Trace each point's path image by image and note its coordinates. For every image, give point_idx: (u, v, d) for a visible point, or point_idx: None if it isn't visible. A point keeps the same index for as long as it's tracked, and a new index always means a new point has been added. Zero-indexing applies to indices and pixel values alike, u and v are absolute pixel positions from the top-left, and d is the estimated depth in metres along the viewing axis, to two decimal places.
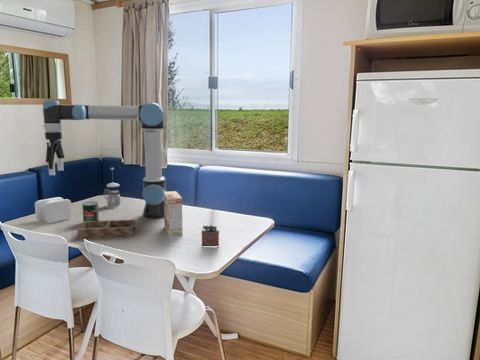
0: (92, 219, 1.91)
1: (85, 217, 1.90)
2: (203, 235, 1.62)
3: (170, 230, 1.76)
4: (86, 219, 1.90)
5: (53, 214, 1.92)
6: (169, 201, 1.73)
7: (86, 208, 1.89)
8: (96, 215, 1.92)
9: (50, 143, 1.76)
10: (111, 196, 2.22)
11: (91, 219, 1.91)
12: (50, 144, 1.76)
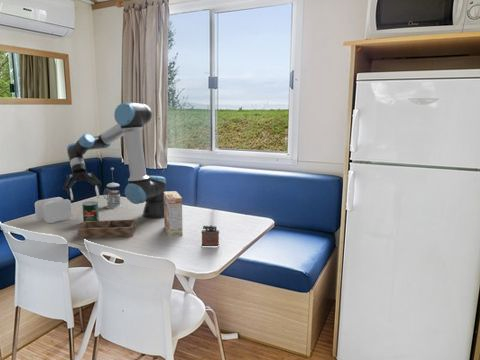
0: (92, 219, 1.91)
1: (85, 217, 1.90)
2: (203, 235, 1.62)
3: (170, 230, 1.76)
4: (86, 219, 1.90)
5: (53, 214, 1.92)
6: (169, 201, 1.73)
7: (86, 208, 1.89)
8: (96, 215, 1.92)
9: (67, 175, 2.01)
10: (111, 196, 2.22)
11: (91, 219, 1.91)
12: (67, 175, 2.01)
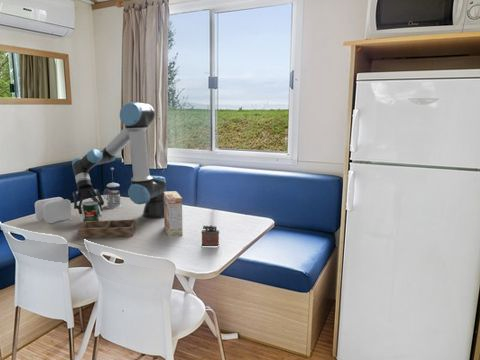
0: (92, 219, 1.91)
1: (85, 217, 1.90)
2: (203, 235, 1.62)
3: (170, 230, 1.76)
4: (86, 219, 1.90)
5: (53, 214, 1.92)
6: (169, 201, 1.73)
7: (86, 208, 1.89)
8: (96, 215, 1.92)
9: (73, 193, 1.94)
10: (111, 196, 2.22)
11: (91, 219, 1.91)
12: (73, 194, 1.94)
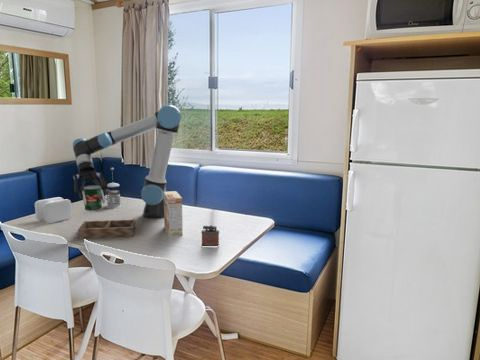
0: (94, 204, 1.72)
1: (87, 202, 1.72)
2: (203, 235, 1.62)
3: (170, 230, 1.76)
4: (88, 204, 1.72)
5: (53, 214, 1.92)
6: (169, 201, 1.73)
7: (88, 192, 1.71)
8: (99, 200, 1.74)
9: (73, 176, 1.76)
10: (111, 196, 2.22)
11: (93, 204, 1.72)
12: (73, 177, 1.76)
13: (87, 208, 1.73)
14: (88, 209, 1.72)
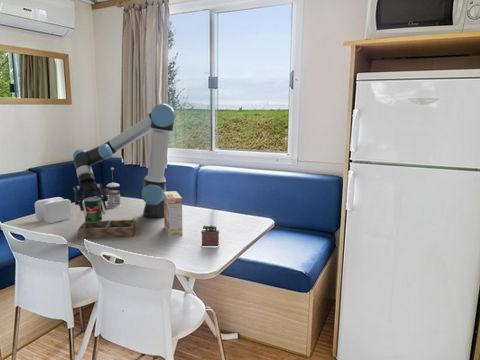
0: (95, 216, 1.73)
1: (87, 214, 1.73)
2: (203, 235, 1.62)
3: (170, 230, 1.76)
4: (88, 216, 1.73)
5: (53, 214, 1.92)
6: (169, 201, 1.73)
7: (88, 204, 1.71)
8: (99, 212, 1.75)
9: (74, 187, 1.76)
10: (111, 196, 2.22)
11: (94, 216, 1.73)
12: (74, 188, 1.76)
13: (87, 220, 1.73)
14: (88, 221, 1.73)
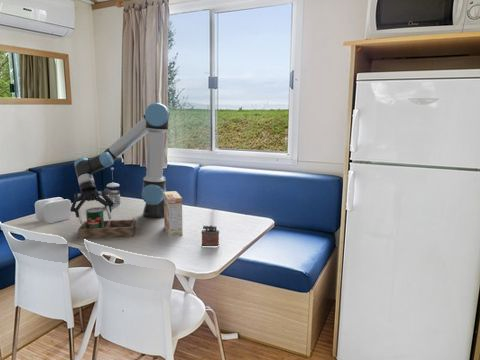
0: (97, 227, 1.74)
1: (89, 225, 1.74)
2: (203, 235, 1.62)
3: (170, 230, 1.76)
4: (90, 227, 1.74)
5: (53, 214, 1.92)
6: (169, 201, 1.73)
7: (90, 215, 1.73)
8: (101, 223, 1.76)
9: (75, 194, 1.78)
10: (111, 196, 2.22)
11: (96, 227, 1.74)
12: (75, 195, 1.77)
13: None
14: None
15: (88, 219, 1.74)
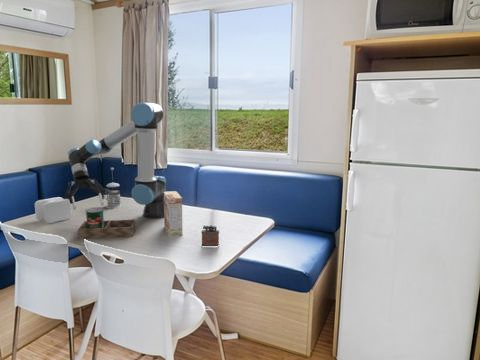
0: (97, 227, 1.74)
1: (89, 225, 1.74)
2: (203, 235, 1.62)
3: (170, 230, 1.76)
4: (90, 227, 1.74)
5: (53, 214, 1.92)
6: (169, 201, 1.73)
7: (90, 215, 1.73)
8: (101, 223, 1.76)
9: (69, 182, 1.88)
10: (111, 196, 2.22)
11: (96, 227, 1.74)
12: None
13: None
14: None
15: (88, 219, 1.74)
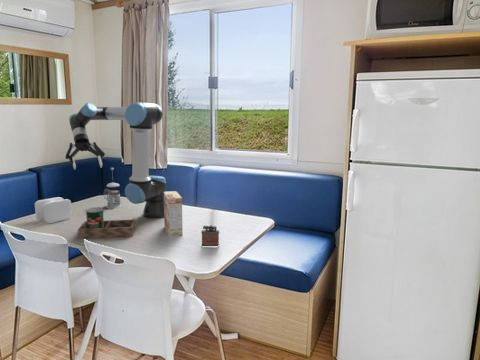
0: (97, 227, 1.74)
1: (89, 225, 1.74)
2: (203, 235, 1.62)
3: (170, 230, 1.76)
4: (90, 227, 1.74)
5: (53, 214, 1.92)
6: (169, 201, 1.73)
7: (90, 215, 1.73)
8: (101, 223, 1.76)
9: None
10: (111, 196, 2.22)
11: (96, 227, 1.74)
12: (69, 145, 1.97)
13: None
14: None
15: (88, 219, 1.74)
